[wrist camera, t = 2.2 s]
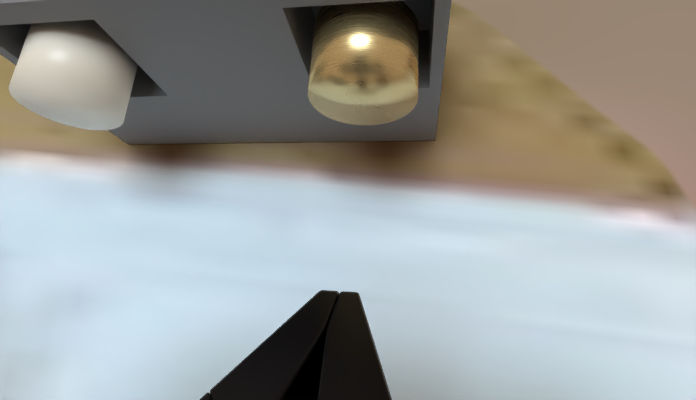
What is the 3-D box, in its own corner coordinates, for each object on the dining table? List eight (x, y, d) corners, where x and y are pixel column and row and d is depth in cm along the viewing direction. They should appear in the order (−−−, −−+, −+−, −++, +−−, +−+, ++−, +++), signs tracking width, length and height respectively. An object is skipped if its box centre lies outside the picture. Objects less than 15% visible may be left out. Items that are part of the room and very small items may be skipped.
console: (435, 140, 23) (456, -50, 12) (128, 144, 25) (-87, -8, 14) (434, 46, 25) (452, -193, 14) (148, 59, 27) (-28, -132, 16)
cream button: (143, 129, 19) (77, 76, 15) (63, 130, 20) (-20, 80, 16) (156, 71, 20) (97, 8, 16) (80, 74, 20) (5, 14, 17)
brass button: (417, 124, 17) (418, 62, 13) (320, 126, 18) (295, 67, 14) (417, 61, 18) (419, -13, 14) (325, 64, 19) (303, -6, 15)
